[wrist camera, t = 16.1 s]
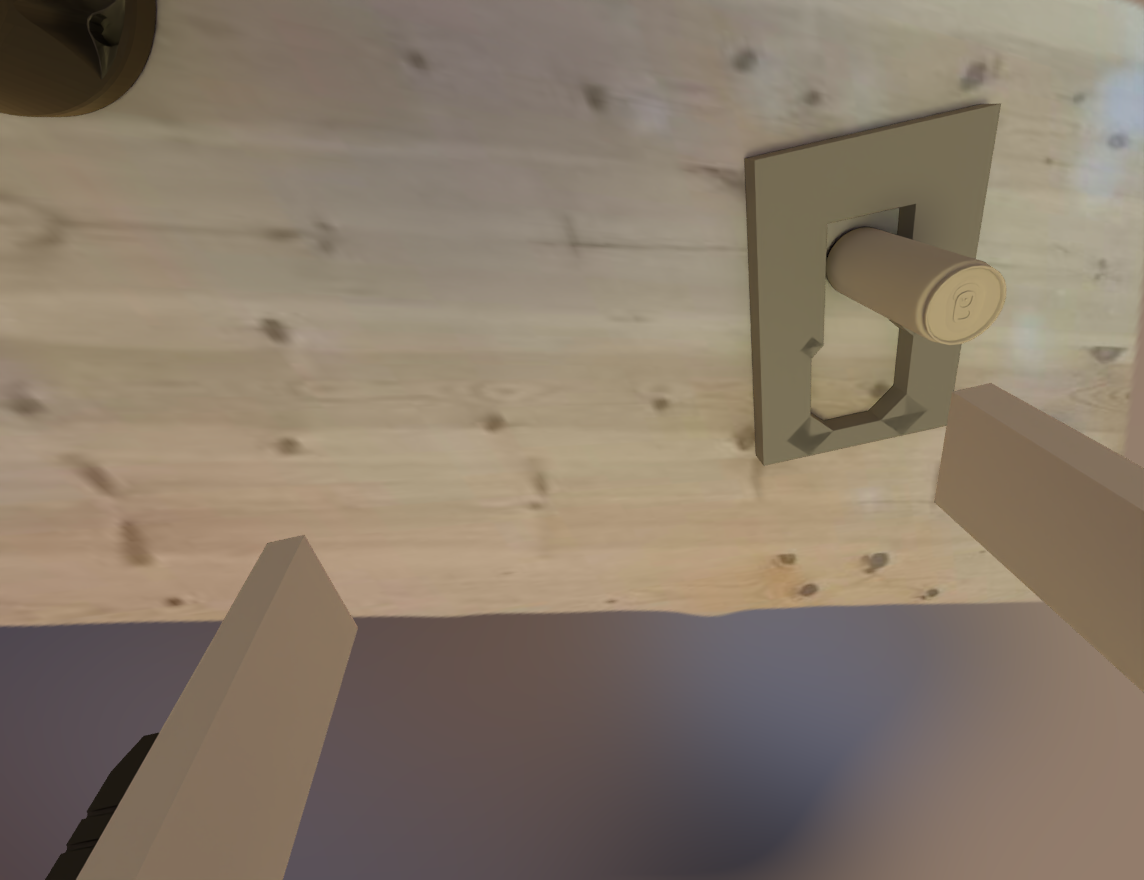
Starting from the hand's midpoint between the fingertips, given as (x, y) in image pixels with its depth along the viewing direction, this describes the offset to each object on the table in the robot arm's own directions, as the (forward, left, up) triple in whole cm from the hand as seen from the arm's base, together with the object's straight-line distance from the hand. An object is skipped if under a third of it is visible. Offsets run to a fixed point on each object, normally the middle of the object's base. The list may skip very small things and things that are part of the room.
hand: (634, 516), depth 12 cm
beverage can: (+6, +22, -32) cm, 39 cm away
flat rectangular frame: (+10, +22, -32) cm, 40 cm away
